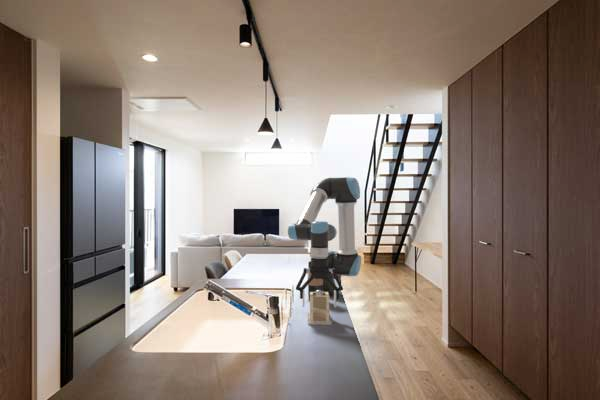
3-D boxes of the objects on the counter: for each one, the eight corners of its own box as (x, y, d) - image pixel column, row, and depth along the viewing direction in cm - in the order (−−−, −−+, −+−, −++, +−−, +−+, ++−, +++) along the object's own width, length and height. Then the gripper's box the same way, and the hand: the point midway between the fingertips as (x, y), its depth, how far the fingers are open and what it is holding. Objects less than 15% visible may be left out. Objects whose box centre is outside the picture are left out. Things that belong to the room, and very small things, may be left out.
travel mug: (323, 299, 193) (323, 261, 193) (322, 303, 185) (322, 263, 186) (308, 298, 194) (308, 260, 194) (307, 302, 186) (307, 263, 186)
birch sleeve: (309, 314, 162) (309, 291, 162) (327, 314, 162) (328, 291, 162) (310, 320, 154) (310, 296, 154) (329, 320, 154) (329, 296, 154)
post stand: (307, 316, 163) (307, 287, 163) (329, 317, 163) (330, 287, 163) (307, 324, 153) (307, 293, 153) (331, 324, 153) (331, 293, 153)
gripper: (290, 258, 155) (290, 308, 155) (349, 258, 154) (349, 309, 154) (290, 255, 162) (290, 303, 162) (347, 256, 162) (347, 303, 162)
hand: (319, 306), depth 158 cm, fingers open, 13 cm apart
